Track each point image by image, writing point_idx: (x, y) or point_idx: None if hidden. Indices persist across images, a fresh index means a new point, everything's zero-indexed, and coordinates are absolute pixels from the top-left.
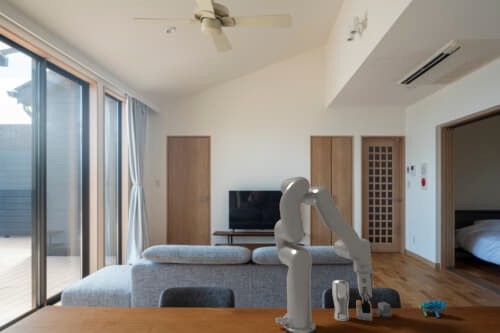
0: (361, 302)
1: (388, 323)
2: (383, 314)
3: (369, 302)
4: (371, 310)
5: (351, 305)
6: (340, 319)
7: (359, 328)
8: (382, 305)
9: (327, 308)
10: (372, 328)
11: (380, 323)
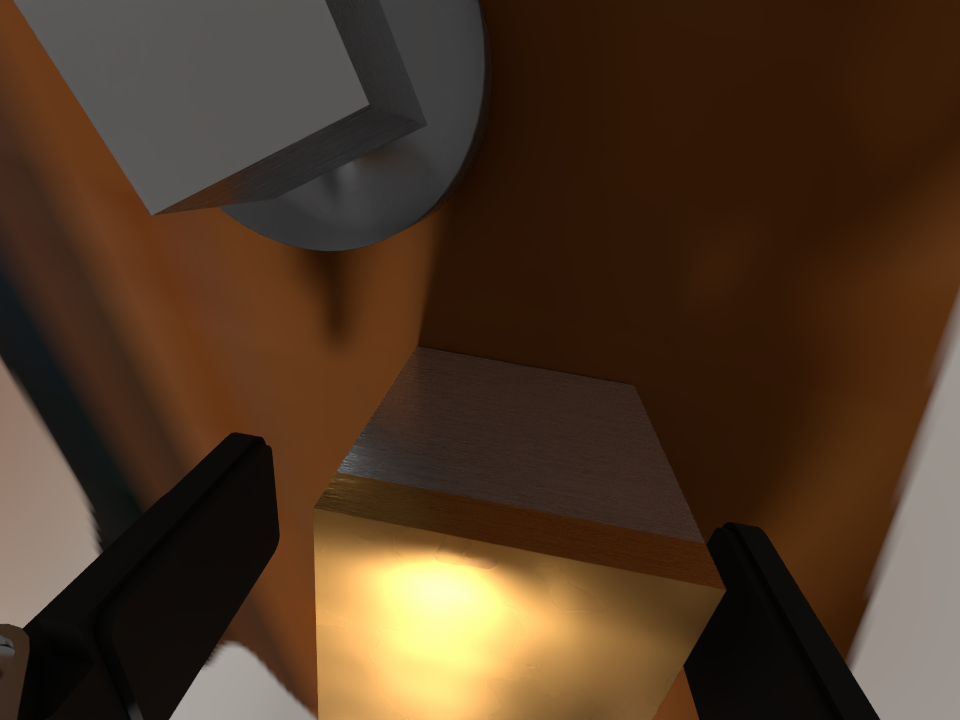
0: (468, 700)
1: (756, 131)
2: (470, 142)
3: (428, 555)
4: (681, 502)
5: (108, 489)
6: None
7: (872, 597)
8: (340, 122)
9: (313, 705)
10: (913, 462)
11: (741, 288)
